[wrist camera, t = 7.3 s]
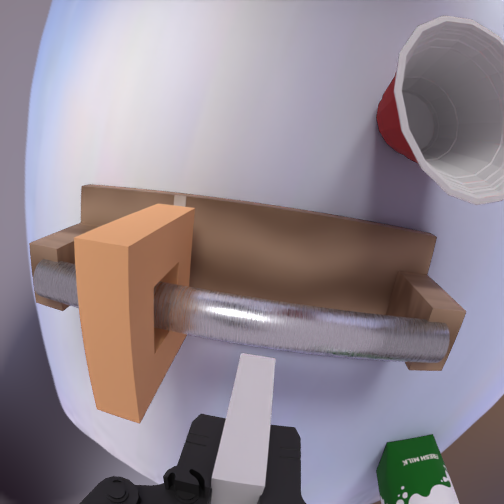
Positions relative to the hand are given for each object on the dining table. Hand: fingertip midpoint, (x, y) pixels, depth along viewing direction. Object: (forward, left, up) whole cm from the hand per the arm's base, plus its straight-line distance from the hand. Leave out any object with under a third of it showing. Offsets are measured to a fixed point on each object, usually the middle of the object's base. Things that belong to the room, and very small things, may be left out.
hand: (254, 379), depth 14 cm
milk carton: (+24, +23, -15) cm, 37 cm away
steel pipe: (0, -2, -8) cm, 8 cm away
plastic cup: (-15, +10, -15) cm, 23 cm away
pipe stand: (0, -2, -15) cm, 15 cm away
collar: (0, -8, -12) cm, 14 cm away
